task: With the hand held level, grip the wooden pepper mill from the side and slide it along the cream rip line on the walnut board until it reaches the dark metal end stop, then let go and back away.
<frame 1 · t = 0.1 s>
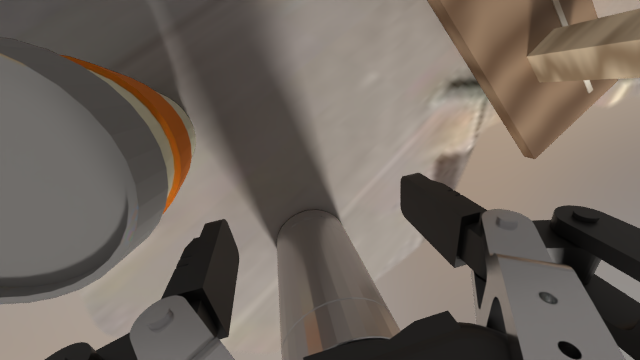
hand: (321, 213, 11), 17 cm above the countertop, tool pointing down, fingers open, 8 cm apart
wooden pepper mill: (546, 56, 28), point 1 cm above the countertop, touching walnut board
reusable coffee cup: (148, 135, 24), on the countertop
walnut board: (520, 31, 28), on the countertop
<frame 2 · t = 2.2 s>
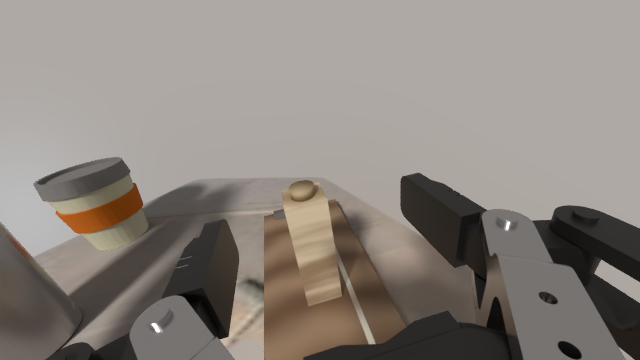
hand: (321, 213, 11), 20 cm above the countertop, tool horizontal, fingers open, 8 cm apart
wooden pepper mill: (321, 286, 28), point 1 cm above the countertop, touching walnut board
reusable coffee cup: (124, 236, 49), on the countertop
walnut board: (316, 271, 33), on the countertop
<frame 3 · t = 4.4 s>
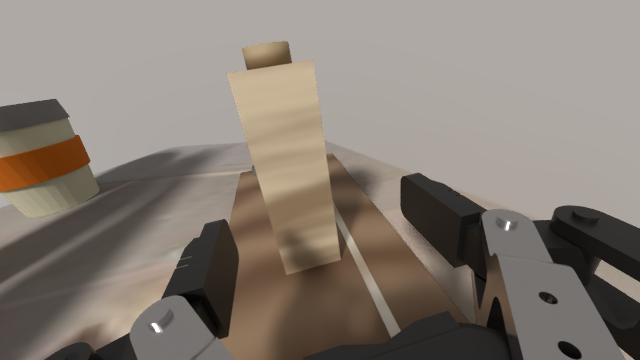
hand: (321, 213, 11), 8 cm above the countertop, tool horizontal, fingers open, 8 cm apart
wooden pepper mill: (309, 248, 18), point 1 cm above the countertop, touching walnut board
reusable coffee cup: (66, 202, 38), on the countertop
walnut board: (304, 231, 23), on the countertop
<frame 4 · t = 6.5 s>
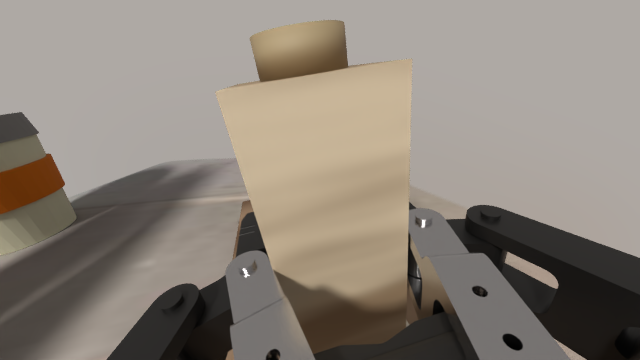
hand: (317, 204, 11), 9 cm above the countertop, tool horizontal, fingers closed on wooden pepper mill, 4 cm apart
wooden pepper mill: (348, 348, 12), point 2 cm above the countertop, touching gripper, walnut board
reusable coffee cup: (35, 234, 32), on the countertop
walnut board: (332, 301, 16), on the countertop
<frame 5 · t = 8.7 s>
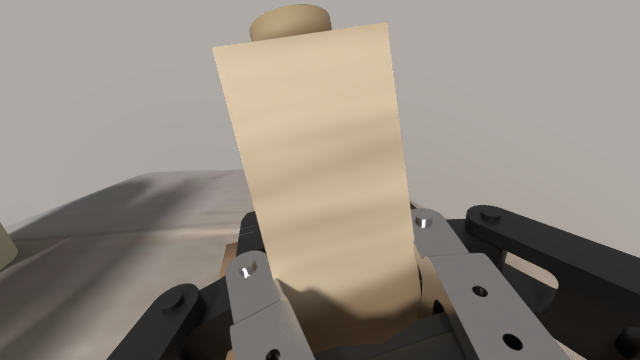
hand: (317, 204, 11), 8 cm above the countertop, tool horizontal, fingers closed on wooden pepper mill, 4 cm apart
when the fingers open (9 cm above the countertop, at t = 11.0 s): wooden pepper mill stays where it is, resting on walnut board.
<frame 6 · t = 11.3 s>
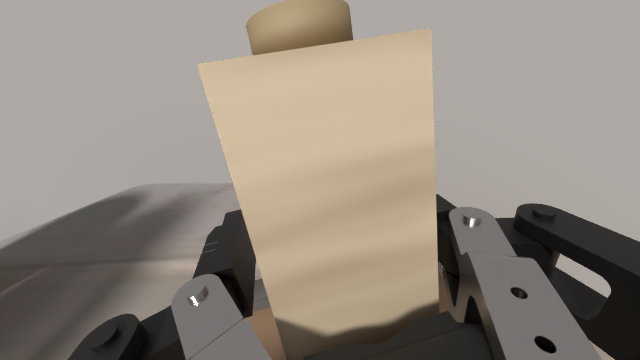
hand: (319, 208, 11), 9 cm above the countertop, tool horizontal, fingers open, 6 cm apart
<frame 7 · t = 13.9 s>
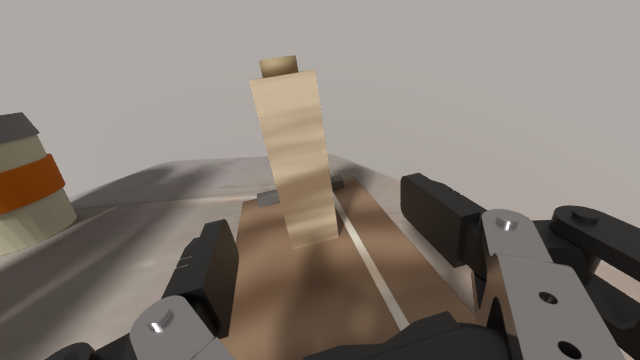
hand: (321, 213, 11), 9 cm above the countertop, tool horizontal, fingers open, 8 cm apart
wooden pepper mill: (311, 229, 21), point 1 cm above the countertop, touching walnut board
reusable coffee cup: (35, 234, 32), on the countertop
walnut board: (332, 301, 16), on the countertop
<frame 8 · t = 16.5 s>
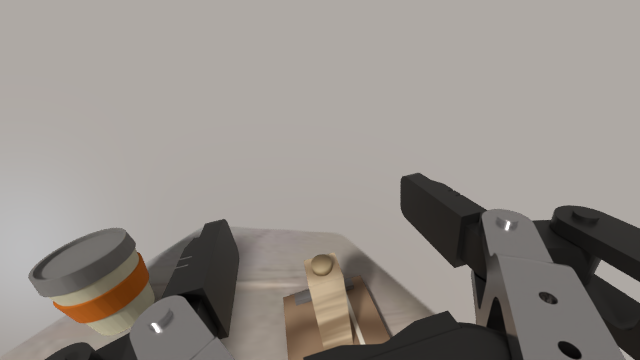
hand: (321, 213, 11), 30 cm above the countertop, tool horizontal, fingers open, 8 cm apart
wooden pepper mill: (335, 334, 33), point 1 cm above the countertop, touching walnut board
reusable coffee cup: (128, 311, 44), on the countertop
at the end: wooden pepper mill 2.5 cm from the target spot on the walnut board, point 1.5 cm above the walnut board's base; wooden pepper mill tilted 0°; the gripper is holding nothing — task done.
